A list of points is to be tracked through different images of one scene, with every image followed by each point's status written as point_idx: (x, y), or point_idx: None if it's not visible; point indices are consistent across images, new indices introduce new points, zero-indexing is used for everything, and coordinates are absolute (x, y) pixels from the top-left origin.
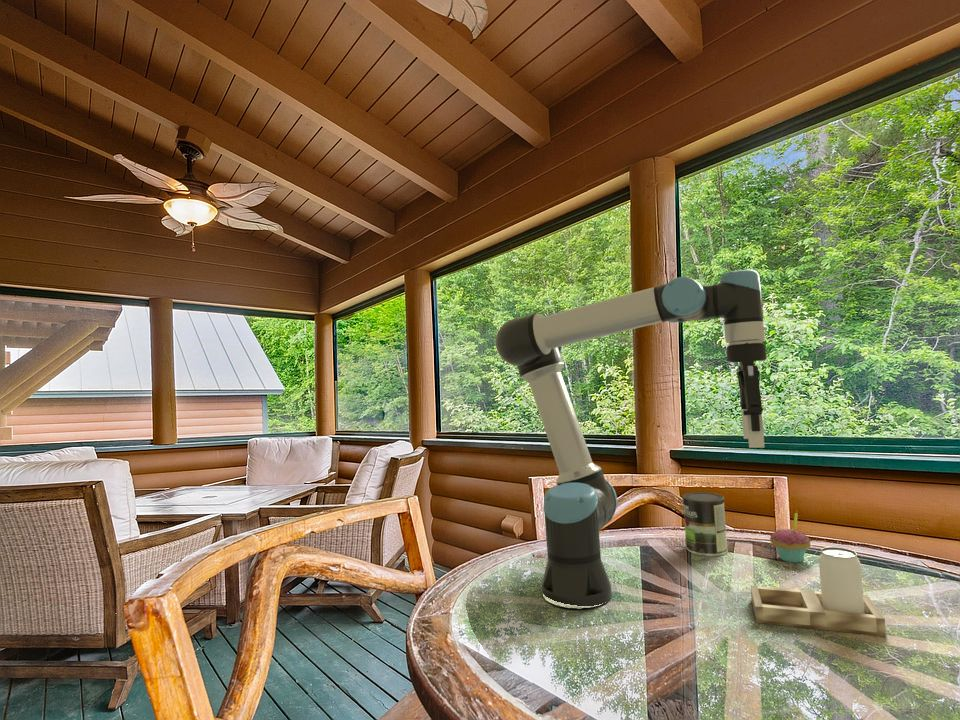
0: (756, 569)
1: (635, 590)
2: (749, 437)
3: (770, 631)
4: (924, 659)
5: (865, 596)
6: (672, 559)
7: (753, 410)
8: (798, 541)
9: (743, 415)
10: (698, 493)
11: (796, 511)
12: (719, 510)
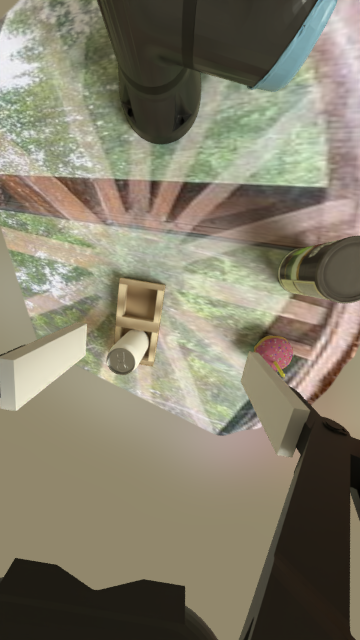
0: (238, 308)
1: (179, 173)
2: (61, 331)
3: (111, 283)
4: (91, 361)
5: (150, 364)
6: (271, 226)
7: None
8: None
9: (279, 396)
10: None
11: (284, 377)
12: (312, 289)
